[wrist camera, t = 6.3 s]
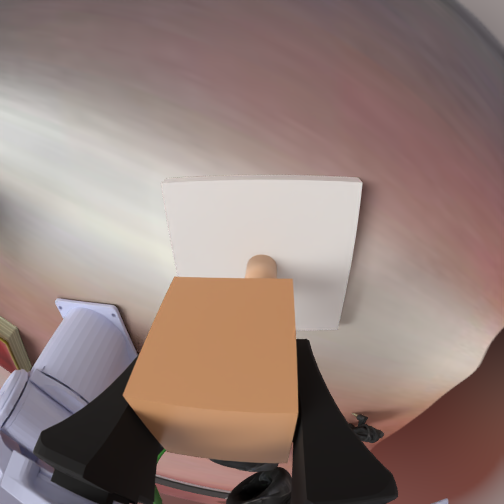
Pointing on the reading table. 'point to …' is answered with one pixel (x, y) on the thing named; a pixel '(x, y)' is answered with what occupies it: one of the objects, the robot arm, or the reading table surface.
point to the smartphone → (191, 487)
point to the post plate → (269, 234)
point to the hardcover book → (12, 348)
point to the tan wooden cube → (221, 370)
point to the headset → (272, 474)
